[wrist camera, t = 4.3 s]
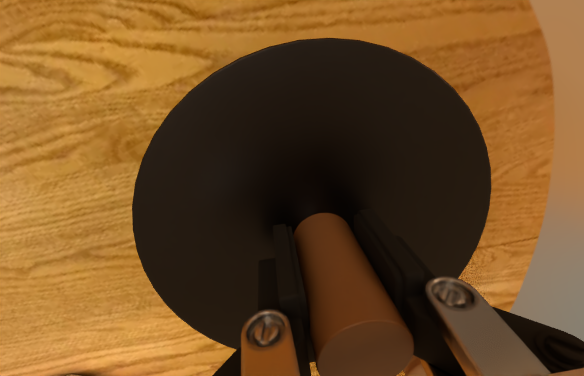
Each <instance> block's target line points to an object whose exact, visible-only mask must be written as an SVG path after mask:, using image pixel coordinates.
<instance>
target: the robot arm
mask: <svg viewBox="0 0 584 376" xmlns="http://www.w3.org/2000/svg"><path fill="white" fill-rule="evenodd" d="M273 235H274V247H275V258H270V259H265V260H259V262H258V312H256V313H255V314H254V315H252V316H251V317H250V318H249V319H248V320H247V321H246V322H245V324H244V326H243V328H242V333H241V346H240V347H239V348H238V349H237V350H236V351H235V352H234V353H233V354H232V356H231V357H230V358H229V359H228V360H227V361H226V362H225V363H224V364H223V365H222V366H221V367H220V368H219V369H218V370H217V371H216V372H215V373H214V374H213V376H311V370H310V364H309V363H310V362H315V357H314V352H313V347H312V341H311V336H310V322H309V316H308V309H307V303H306V297H305V291H304V286H303V281H302V276H301V272H300V267H299V262H298V257H297V252H296V247H295V242H294V237H293V232H292V227H291V226H289V227H286V224H280V225H274V226H273ZM354 236H355V238H356V239H357V241H358V243H359V244H360V246H361V248H362V250H363V251H364V253H365V255H366V257H367V258H368V260H369V262H370V263H371V265H372V267H373V269H374V270H375V272H376V274H377V275H378V277H379V279H380V281H381V282H382V284H383V286H384V288H385V289H386V291H387V293H388V294H389V296H390V298H391V300H392V301H393V303H394V305H395V306H396V308H397V310H398V312H399V313H400V315H401V317H402V319H403V320H404V322H405V324H406V325H407V327H408V329H409V331H410V332H411V334H412V336H413V339H414V353H413V355H414V356H416V357H418V358H420V361H421V364H422V366H423V369H424V371H425V373H426V375H427V376H584V342H583V341H582V340H580V339H579V338H577V337H575V336H573V335H571V334H568V333H566V332H564V331H561V330H558V329H555V328H552V327H549V326H546V325H544V324H541V323H538V322H535V321H532V320H529V319H526V318H523V317H521V316H518V315H515V314H512V313H509V312H506V311H503V310H501V309H498V308H495V307H492V306H490V305H489V304H488V302H487V301H486V300H485V299H484V298H483V297H482V296H481V295H480V294H479V292H478V291H477V290H476V289H475V288H473V287H472V286H471V285H470V284H468V283H466V282H465V281H463V280H460V279H457V278H454V277H448V276H439V277H435V276H434V274H433V273H432V272H431V271H430V270H429V269H428V267H427V266H426V265H425V264H424V263H423V262H422V260H421V259H420V258H419V257H418V256H417V255H416V253H415V252H414V251H413V250H412V249H411V248H410V246H409V245H408V244H407V243H406V242H405V241H404V239H403V238H402V237H401V236H398V235H397V236H394V235H393V233H392V232H391V231H390V230H389V229H388V227H387V226H386V225H385V224H384V222H383V221H382V220H381V219H380V218H379V216H378V215H377V214H376V213H375V211H374V210H373V209H365V210H360V211H358V213H357V215H354Z"/></svg>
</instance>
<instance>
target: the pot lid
mask: <svg viewBox="0 0 584 376" xmlns="http://www.w3.org/2000/svg"><path fill="white" fill-rule="evenodd" d="M490 195H491V167H490V162H489V157H488V152H487V147H486V144H485V141H484V138H483V136H482V133H481V130H480V127H479V125H478V123H477V122H476V120H475V118H474V116H473V114H472V113H471V111H470V109H469V107H468V106H467V105H466V103H465V102H464V101H463V100H462V98H461V97H460V96H459V95H458V93H457V92H456V91H455V90H454V88H453V87H452V86H450V85H449V84H448V83H447V82H446V81H445V80H444V79H443V78H441V77H440V76H439V75H438V74H437V73H436V72H435V71H433V70H432V69H430V68H428V67H427V66H425V65H424V64H422V63H420V62H419V61H417V60H416V59H414V58H412V57H410V56H408V55H405V54H403V53H400V52H398V51H396V50H393V49H391V48H389V47H385V46H381V45H377V44H373V43H369V42H365V41H361V40H350V39H338V38H320V39H306V40H297V41H292V42H288V43H283V44H279V45H274V46H270V47H267V48H264V49H262V50H259V51H257V52H254V53H251V54H249V55H246V56H244V57H241V58H239V59H237V60H235V61H234V62H232V63H230V64H228V65H226V66H225V67H223V68H221V69H219V70H218V71H216V72H214V73H213V74H211V75H210V76H209V77H207V78H206V79H205V80H204V81H202V82H201V83H200V84H198V85H197V86H196V87H195V88H193V89H192V90H191V91H190V92H189V93H188V94H187V95H186V96H185V97H184V98H183V99H182V100H181V101H180V102H179V103H178V104H177V105H176V106H175V107H174V108H173V109H172V110H171V111H170V113H169V114H168V116H167V117H166V118H165V120H164V121H163V123H162V124H161V126H160V127H159V129H158V130H157V131H156V133H155V134H154V136H153V138H152V140H151V142H150V144H149V146H148V148H147V150H146V153H145V155H144V157H143V159H142V162H141V165H140V169H139V172H138V175H137V179H136V182H135V189H134V196H133V204H132V215H133V232H134V238H135V243H136V248H137V252H138V255H139V258H140V260H141V263H142V266H143V269H144V271H145V273H146V275H147V276H148V278H149V280H150V282H151V284H152V286H153V288H154V289H155V290H156V292H157V293H158V294H159V296H160V297H161V298H162V300H163V301H164V302H165V304H166V305H167V306H168V307H169V308H170V309H171V310H172V311H173V312H174V313H175V314H176V315H177V316H178V317H179V318H181V319H182V320H183V321H184V322H186V323H187V324H188V325H190V326H191V327H192V328H193V329H195V330H197V331H198V332H200V333H202V334H203V335H205V336H207V337H208V338H210V339H212V340H214V341H216V342H219V343H221V344H223V345H225V346H228V347H231V348H234V349H238V348H239V347H240V346H241V333H242V328H243V326H244V324H245V322H246V321H247V320H248V319H249V318H250V317H251V316H252V315H254V314H255V313H256V312H258V262H259V260H265V259H270V258H275V247H274V235H273V226H274V225H280V224H286V227H289V226H291V227H292V232H293V237H294V242H295V247H296V252H297V257H298V262H299V267H300V272H301V276H302V281H303V286H304V291H305V297H306V303H307V309H308V316H309V322H310V336H311V341H312V347H313V352H314V357H315V362H316V367H317V371H318V373H319V374H320V376H396V375H398V374H399V373H400V372H401V371H402V370H403V369H404V368H405V367H406V366H407V365H408V363H409V362H410V360H411V358H412V356H413V353H414V339H413V336H412V334H411V332H410V331H409V329H408V327H407V325H406V324H405V322H404V320H403V319H402V317H401V315H400V313H399V312H398V310H397V308H396V306H395V305H394V303H393V301H392V300H391V298H390V296H389V294H388V293H387V291H386V289H385V288H384V286H383V284H382V282H381V281H380V279H379V277H378V275H377V274H376V272H375V270H374V269H373V267H372V265H371V263H370V262H369V260H368V258H367V257H366V255H365V253H364V251H363V250H362V248H361V246H360V244H359V243H358V241H357V239H356V238H355V236H354V215H357V213H358V211H360V210H365V209H373V210H374V211H375V213H376V214H377V215H378V216H379V218H380V219H381V220H382V221H383V222H384V224H385V225H386V226H387V227H388V229H389V230H390V231H391V232H392V233H393V235H394V236H397V235H398V236H401V237H402V238H403V239H404V241H405V242H406V243H407V244H408V245H409V246H410V248H411V249H412V250H413V251H414V252H415V253H416V255H417V256H418V257H419V258H420V259H421V260H422V262H423V263H424V264H425V265H426V266H427V267H428V269H429V270H430V271H431V272H432V273H433V274H434V276H435V277H439V276H448V277H454V278H457V279H458V278H459V276H460V275H461V273H462V272H463V270H464V269H465V267H466V266H467V264H468V263H469V261H470V259H471V257H472V255H473V253H474V251H475V249H476V248H477V246H478V243H479V240H480V238H481V235H482V233H483V230H484V227H485V223H486V219H487V215H488V211H489V205H490Z"/></svg>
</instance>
